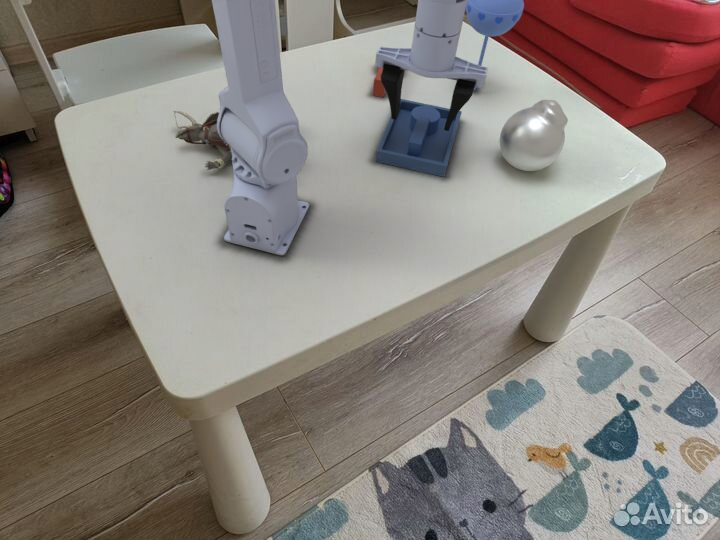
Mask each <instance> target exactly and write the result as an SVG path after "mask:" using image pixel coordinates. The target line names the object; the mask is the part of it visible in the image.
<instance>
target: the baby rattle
mask: <svg viewBox="0 0 720 540" xmlns="http://www.w3.org/2000/svg"><path fill="white" fill-rule="evenodd" d="M524 7H525V2H524V0H467V4H466V9H465V13H466V17H467V20H468V23H469V25H470V26H471V27H472V29H473V30H474V31H476V32H477V33H478V34H480V35H482V36H484V37H483V38H484V39H483V43H482V48H481V51H480V55H479V58H478V59H479V60H478V63H477V65H479V66H482V65H483V60H484V58H485V53H486V49H487V45H488V41H489V37H499V36H502V35H504V34H506V33H508V32H509V31H511V30H512V29H513V28H514V26H515V25H516V24H517V23H518V22H519V21H520V19H521V17H522V15H523V12H524ZM476 89H477V87H474V91H476Z"/></svg>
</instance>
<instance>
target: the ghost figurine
mask: <svg viewBox="0 0 720 540" xmlns="http://www.w3.org/2000/svg"><path fill="white" fill-rule="evenodd" d="M568 121H569V120H568V117H567V115H566V114H565V113H564V111H563V108H562V106H561V104H560V103H559V102H557V101H556V100H553V99H541V100H539V101H538V102H536V103H534V104H533V105H532V106H530V107H525V108H523V109H520V110H518V111H516V112H515V113H514V114H512V115H511V116H510V117H509V118H508V119H507V120H506V122H505V123H504V125H503V127H502V128H501V131H500V133H499V150H500V152H501V155H502V157H503V158H504V160H505V161H506V163H508V164H509V165H510V166H511V167H513V168H515V169H517V170H520V171H524V172H537V171H539V170H544V169H545V168H547V167H549V166H550V165H551V164H553V163H554V162H555V161H556V160H557V159H558V158H559V156H560V155H561V153H562V151H563V149H564V145H565V141H566V133H565V128H566V126H567V124H568Z"/></svg>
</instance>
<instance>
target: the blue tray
mask: <svg viewBox="0 0 720 540" xmlns="http://www.w3.org/2000/svg"><path fill="white" fill-rule="evenodd" d="M418 106H430V107H433V108H435V109H436V110H438V111H439V113H440V120H439V125H438V130H437V132H436V133H434V134H432V135H428V136H426V139H425V142H424V145H423V148H422V152H421V155H420V158H419V157H414V156H410V155H407V151H408V145H409V140H410V138H411V135H412V132H413V131H412V130H411V129H410V119H411V113H412V110H413V109H414V108H415V107H418ZM449 111H450V108H447V107H442V106H437V105H433V104H428V103H424V102H418V101H413V100H408V99H405V98H401V102H400V110H399V113H398V116H397V118H396V120H395V119H392V118H391V117H390V119H389V121H388V123H387V126H386V128H385V130H384V132H383V135H382V137H381V139H380V142H379V144H378V147H377V149H376V155H375V163H376V162H377V163H380V164H385V165H389V166H392V167H393V166H394V167H398V168H401V169H402V168H403V169H407V170H411V171H416V172H420V173H425V174H429V175H433V176H438V177H443V178H445V177H446V172H447V168H448V166H449V165H448V164H449V162H450V158H451V154H452V151H453V146H454V143H455V139H456V135H457V132H458V128H459V124H460V121H461V116H462V110H460V111H459V112H458V114H457V115H456V117H455V118H454V120H453V122H452V124H451V126H450V129H449V131H446V130H444V128H445V123H446V120H447V117H448V114H449Z"/></svg>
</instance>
